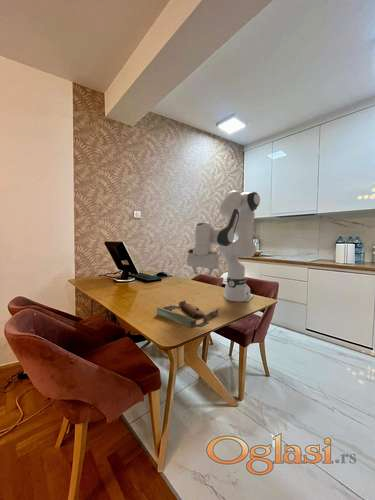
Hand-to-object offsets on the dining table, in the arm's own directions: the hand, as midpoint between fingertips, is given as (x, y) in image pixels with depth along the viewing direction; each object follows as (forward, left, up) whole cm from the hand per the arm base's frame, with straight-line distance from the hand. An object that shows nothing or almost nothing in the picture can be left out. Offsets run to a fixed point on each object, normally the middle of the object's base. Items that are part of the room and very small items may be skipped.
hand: (202, 275), depth 125 cm
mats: (+13, -1, -19) cm, 24 cm away
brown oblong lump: (+8, 0, -20) cm, 22 cm away
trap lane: (+12, 0, -20) cm, 23 cm away
